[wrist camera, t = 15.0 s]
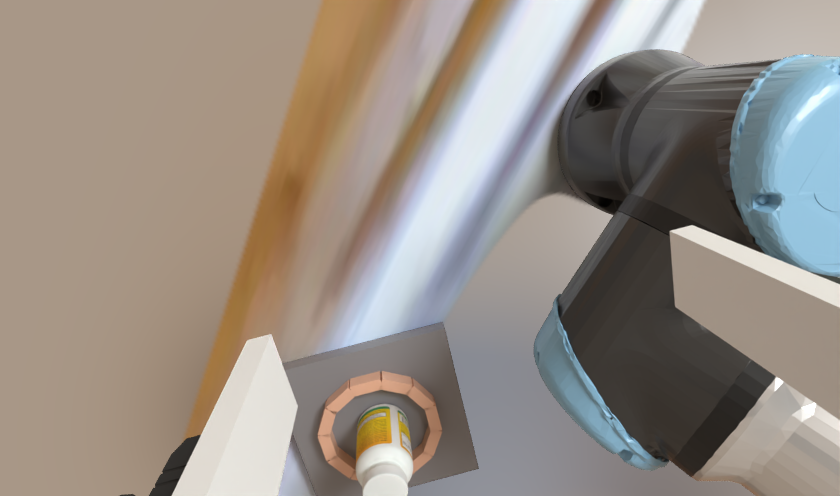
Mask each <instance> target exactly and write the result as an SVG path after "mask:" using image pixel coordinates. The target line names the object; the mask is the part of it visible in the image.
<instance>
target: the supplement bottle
mask: <svg viewBox="0 0 840 496" xmlns="http://www.w3.org/2000/svg"><path fill="white" fill-rule="evenodd" d="M412 473H413V458H412V450H411V442H410V432H409V424H408V420H407V417H406V415H405V414H404V412H403V411H402V410H401V409H399V408H398V407H396V406H394V405H390V404H379V405H375V406H372V407H370V408H368V409H367V410H366V411H365V412H364V413H363V414H362V415H361V417H360V418H359V421H358V425H357V447H356V476H357V479H358V481H359V483H360V484H361V486H362V492H363V496H407V494H408V482H409V481H410V479H411V477H412Z"/></svg>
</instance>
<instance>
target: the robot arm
mask: <svg viewBox="0 0 840 496" xmlns="http://www.w3.org/2000/svg"><path fill="white" fill-rule="evenodd" d="M558 154H559V160H560V164H561V168H562V171H563V173H564V176H565V178H566V180H567V181H568V183H569V185H570V186H571V188H572V189H573V190H574V191H575V192H576V194H577V195H578V196H579V197H581V198H582V199H583V200H584V201H585V202H587V203H588V204H590V205H592V206H594V207H596V208H598V209H600V210H602V211H604V212H606V213H609V214H612V215H613V217H612V219H611V220H610V222H609V223H608V225H607V226H606V228H605V229H604V231H603V232H602V234H601V235H600V237H599V238H598V240H597V241H596V243H595V244H594V246H593V247H592V249H591V250H590V252H589V253H588V255H587V256H586V258H585V260H584V261H583V263H582V264H581V266H580V267H579V269H578V270H577V272H576V273H575V275H574V276H573V278H572V279H571V281H570V282H569V284H568V286H567V287H566V288H565V290H564V291H563V293H562V294H559V295H558V296H557V297H556V299H555V301H554V302H553V308H552V310H551V312H550V313H549V315H548V317H547V319H546V320H545V322H544V324H543V326H542V327H541V329H540V331H539V333H538V334H537V337H536V339H535V343H534V357H535V362H536V365H537V366H538V369H539V372H540V375H541V377H542V379H543V381H544V382H545V384H546V386H547V387H548V389H549V391H550V392H551V393H552V395H553V396H554V398H555V399H556V400H557V401H558V403H559V404H560V405H561V406H562V408H563V409H564V410H565V411H566V412H567V414H569V416H570V417H571V418H572V419H573V420H574V421H575V422H576V423H577V424H578V425H579V426H580V427H581V428H582V429H583V430H584V431H585V432H586V433H587V434H588V435H589V436H590V437H592V438H593V439H594V440H595V441H596V442H597V443H599V444H600V445H601V446H602V447H603V448H605V449H606V450H608V451H609V452H611V453H612V454H616V453H617V454H618V455H619V456H620V457H621V458H622V459H623V460H624V461H625V462H626V463H628V464H630V465H631V466H634V467H636V468H639V469H642V470H651V471H653V470H656V469H658V468H659V467H665V466H666V465H667V464H668V462H669V460H670V461H671V462H673V463H674V464H675V465H676V466H678V467H679V468H680V469H681V470H683V471H684V472H685V473H686V474H688V475H689V476H690V477H692V478H693V479H695V480H696V481H732V482H735V483H739V484H741V485H742V486H744V487H745V488H746V489H747V490H749V491H750V492H752V493H753V494H754V495H755V496H840V278H838V277H840V57H830V56H814V55H812V54H810V55H803V54H801V55H794V56H791V57H788V58H783V59H778V60H767V61H756V62H746V63H735V64H724V65H713V66H705V65H703V64H701V63H699V62H697V61H695V60H693V59H692V58H690V57H688V56H685V55H683V54H681V53H677V52H673V51H668V50H657V49H655V50H643V51H637V52H631V53H626V54H623V55H620V56H617V57H615V58H613V59H610V60H608V61H607V62H605V63H603V64H602V65H600V66H599V67H597V68H596V69H595V70H593V71H592V72H591V73H590V74H589V75H588V76H587V77H586V78H585V79H584V80H583V81H582V82H581V83H580V84H579V86H578V87H577V88H576V90H575V91H574V93H573V94H572V96H571V98H570V99H569V101H568V103H567V105H566V108H565V110H564V113H563V116H562V119H561V123H560V127H559V134H558ZM297 408H298V405H297V403H296V400H295V397H294V394H293V392H292V389H291V386H290V384H289V381H288V378H287V376H286V373H285V370H284V367H283V365H282V362H281V359H280V357H279V354H278V351H277V349H276V346H275V343H274V341H273V338H272V335H271V334H269V335H265V336H262V337H258V338H254V339H250V340H247V342H246V344H245V346H244V348H243V350H242V352H241V354H240V356H239V358H238V360H237V362H236V364H235V366H234V369H233V371H232V373H231V375H230V377H229V379H228V381H227V383H226V385H225V387H224V389H223V391H222V393H221V395H220V397H219V399H218V401H217V403H216V406H215V408H214V410H213V412H212V414H211V416H210V418H209V420H208V422H207V424H206V426H205V428H204V430H203V432H202V434H201V435H198V436H194V437H191V438H187V439H186V440H185V441H184V442H183V443H182V444H181V445H180V446H179V447H178V448H177V449H176V450H175V452H173V453H172V454H171V456H170V458H169V460H168V462H167V463H166V465H165V467H164V469H163V471H162V472H163V474H161V475H160V476H159V478H158V480H157V482H156V484H155V488H153V489H152V491H151V493H150V495H149V496H278V493H279V489H280V484H281V480H282V475H283V471H284V466H285V462H286V457H287V453H288V448H289V444H290V439H291V435H292V430H293V426H294V421H295V417H296V412H297ZM120 496H135V495H133V494H129V495H120Z"/></svg>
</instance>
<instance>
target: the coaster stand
mask: <svg viewBox="0 0 840 496" xmlns="http://www.w3.org/2000/svg"><path fill="white" fill-rule="evenodd" d="M282 365H283V367H284V370H285V373H286V376H287V378H288V381H289V384H290V386H291V389H292V392H293V394H294V397H295V400H296V403H297V405H298V408H297V412H296V417H295V421H294V426H293V430H292V433H293V436H294V439H295V441H296V444H297V446H298V449H299V452H300V454H301V457H302V460H303V462H304V465H305V467H306V470H307V473H308V475H309V478H310V480H311V483H312V486H313V488H314V491H315V493H316V496H363V492H362V486H361V484H360V483H359V481H358V479H357V476H356V447H357V425H358V421H359V418H360V417H361V415H362V414H363V413H364V412H365V411H366V410H367V409H368V408H370V407H372V406H375V405H379V404H390V405H394V406H396V407H398V408H399V409H401V410H402V411H403V412H404V414H405V415H406V417H407V420H408V424H409V432H410V442H411V450H412V458H413V473H412V477H411V479H410V481H409V482H408V488H409V487H412V486H416V485H419V484H423V483H427V482H431V481H435V480H438V479H442V478H446V477H449V476H453V475H457V474H461V473H464V472H468V471H471V470H475V469H479V468H478V463H477V459H476V455H475V451H474V447H473V443H472V439H471V435H470V431H469V426H468V422H467V418H466V414H465V410H464V406H463V402H462V398H461V393H460V390H459V385H458V382H457V377H456V373H455V369H454V365H453V361H452V356H451V352H450V348H449V344H448V340H447V336H446V332H445V328H444V325H443V322H440V323H436V324H433V325H429V326H425V327H421V328H417V329H413V330H410V331H406V332H402V333H398V334H394V335H390V336H387V337H383V338H379V339H375V340H371V341H367V342H364V343H360V344H356V345H352V346H348V347H344V348H341V349H337V350H333V351H329V352H325V353H321V354H318V355H314V356H310V357H306V358H302V359H298V360H295V361H291V362H287V363H283V364H282Z"/></svg>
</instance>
